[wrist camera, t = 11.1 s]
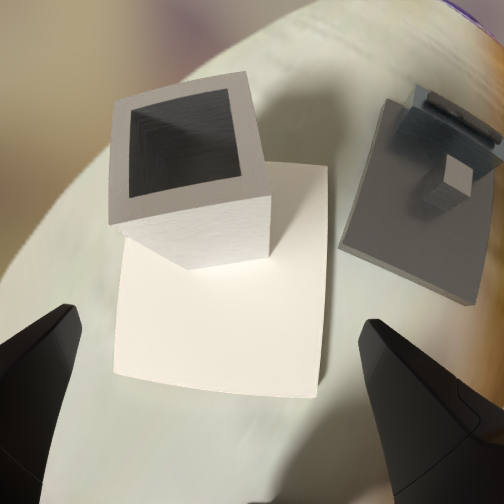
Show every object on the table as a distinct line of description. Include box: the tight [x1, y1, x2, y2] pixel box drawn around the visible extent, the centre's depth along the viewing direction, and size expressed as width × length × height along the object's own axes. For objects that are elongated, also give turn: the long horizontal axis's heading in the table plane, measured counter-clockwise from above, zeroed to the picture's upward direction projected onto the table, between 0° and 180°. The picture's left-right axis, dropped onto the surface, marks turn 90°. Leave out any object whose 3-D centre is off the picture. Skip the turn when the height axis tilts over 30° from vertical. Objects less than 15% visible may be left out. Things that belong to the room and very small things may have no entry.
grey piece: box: [338, 85, 504, 306], centre depth 19 cm, size 14×12×6 cm
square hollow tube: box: [109, 71, 271, 270], centre depth 15 cm, size 5×5×11 cm
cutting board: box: [114, 161, 328, 398], centre depth 21 cm, size 16×14×2 cm
